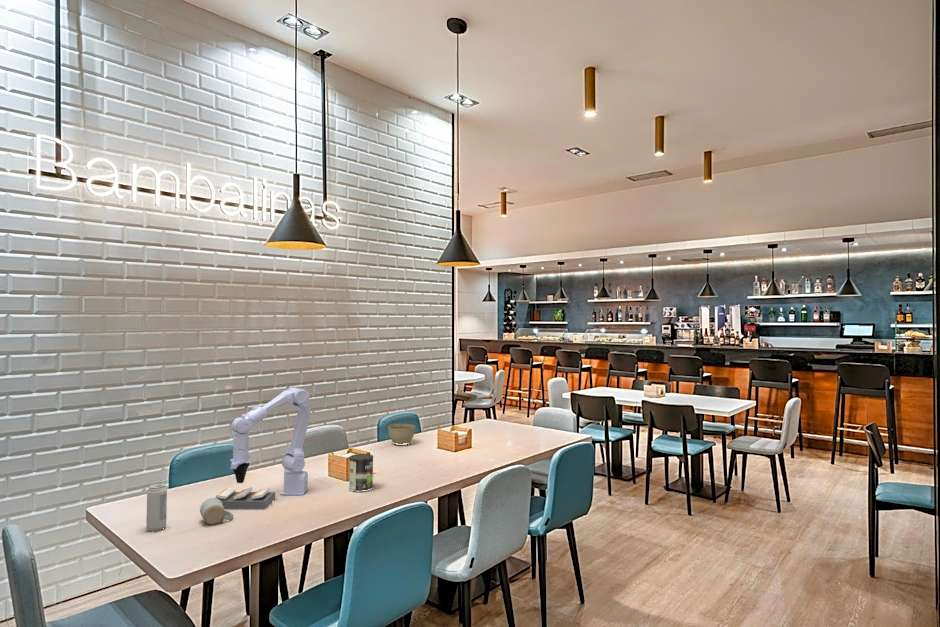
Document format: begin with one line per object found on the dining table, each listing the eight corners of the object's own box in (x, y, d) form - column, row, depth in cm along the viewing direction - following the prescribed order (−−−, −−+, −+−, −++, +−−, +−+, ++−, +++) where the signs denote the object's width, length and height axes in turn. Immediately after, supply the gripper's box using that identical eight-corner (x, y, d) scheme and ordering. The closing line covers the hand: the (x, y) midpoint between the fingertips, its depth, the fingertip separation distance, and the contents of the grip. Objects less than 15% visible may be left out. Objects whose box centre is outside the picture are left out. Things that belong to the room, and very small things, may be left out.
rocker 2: (270, 490, 221) (269, 487, 221) (262, 497, 212) (261, 494, 212) (260, 492, 221) (259, 489, 221) (252, 499, 212) (251, 496, 212)
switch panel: (275, 499, 223) (275, 491, 223) (264, 509, 211) (264, 501, 211) (223, 499, 222) (223, 491, 222) (209, 509, 210) (209, 501, 210)
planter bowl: (383, 446, 320) (383, 427, 320) (395, 440, 335) (395, 422, 335) (408, 448, 315) (408, 429, 315) (419, 442, 330) (419, 424, 330)
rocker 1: (235, 492, 221) (235, 489, 221) (225, 499, 212) (226, 496, 212) (225, 490, 221) (226, 487, 221) (215, 497, 212) (216, 494, 212)
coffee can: (377, 486, 241) (377, 454, 241) (365, 493, 231) (365, 460, 231) (356, 484, 244) (357, 452, 244) (344, 491, 234) (344, 458, 235)
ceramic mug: (203, 527, 192) (203, 505, 192) (199, 520, 198) (200, 499, 199) (235, 522, 198) (236, 500, 198) (230, 515, 204) (231, 494, 204)
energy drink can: (151, 525, 193) (152, 483, 193) (169, 525, 193) (170, 483, 193) (142, 532, 187) (143, 488, 187) (161, 532, 187) (161, 488, 187)
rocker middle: (252, 490, 221) (251, 486, 221) (244, 497, 212) (243, 493, 212) (243, 493, 221) (242, 489, 221) (234, 500, 212) (233, 496, 212)
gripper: (237, 444, 224) (237, 477, 224) (222, 452, 210) (222, 488, 209) (255, 444, 224) (254, 477, 224) (241, 452, 210) (241, 488, 210)
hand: (240, 482), depth 217 cm, fingers closed
